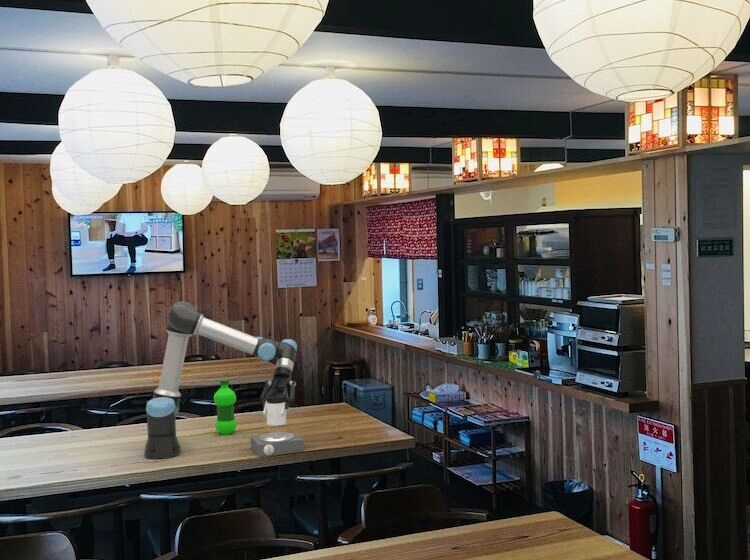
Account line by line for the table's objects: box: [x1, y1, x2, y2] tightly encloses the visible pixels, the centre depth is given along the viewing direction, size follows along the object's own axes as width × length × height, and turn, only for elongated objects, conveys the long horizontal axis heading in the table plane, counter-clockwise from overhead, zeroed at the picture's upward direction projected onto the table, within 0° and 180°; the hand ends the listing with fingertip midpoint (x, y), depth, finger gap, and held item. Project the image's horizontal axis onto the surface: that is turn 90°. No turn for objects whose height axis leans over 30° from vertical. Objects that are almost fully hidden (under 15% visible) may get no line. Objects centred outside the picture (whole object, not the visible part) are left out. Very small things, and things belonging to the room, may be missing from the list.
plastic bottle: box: [213, 379, 237, 435], centre depth 381 cm, size 10×10×25 cm
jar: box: [266, 393, 287, 427], centre depth 347 cm, size 9×8×12 cm
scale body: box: [250, 431, 304, 458], centre depth 348 cm, size 19×17×5 cm
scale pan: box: [258, 431, 294, 443], centre depth 348 cm, size 15×15×1 cm
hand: (273, 415), depth 344 cm, fingers closed on jar, 7 cm apart
